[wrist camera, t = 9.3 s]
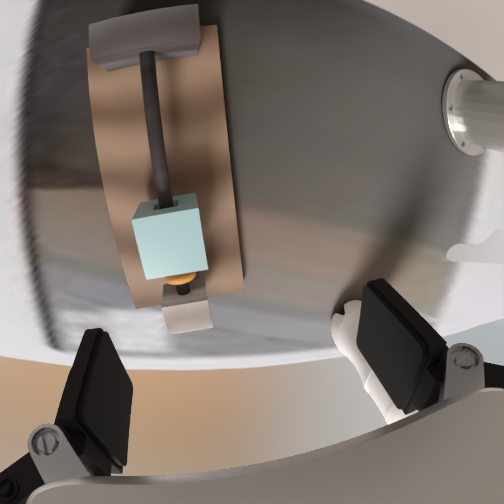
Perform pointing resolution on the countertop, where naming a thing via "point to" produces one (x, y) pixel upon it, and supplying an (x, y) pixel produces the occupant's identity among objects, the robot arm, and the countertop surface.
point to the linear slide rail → (165, 148)
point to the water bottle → (362, 359)
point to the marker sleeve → (170, 237)
